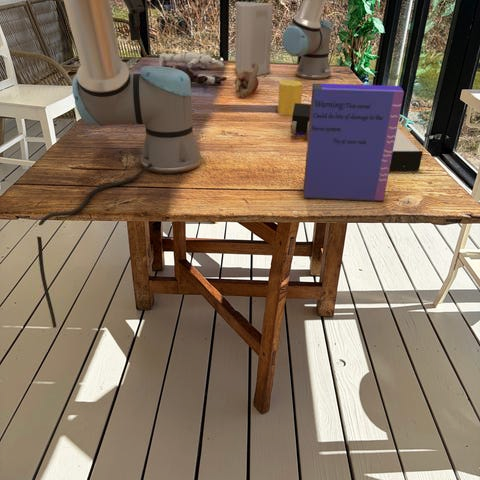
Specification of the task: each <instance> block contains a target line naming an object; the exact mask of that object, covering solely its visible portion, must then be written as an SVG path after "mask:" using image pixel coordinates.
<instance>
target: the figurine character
mask: <svg viewBox="0 0 480 480" xmlns="http://www.w3.org/2000/svg"><path fill="white" fill-rule="evenodd" d="M310 109H311V103H301V104H300V103H295V105H294V110H293V115H291V116H292V117H291V124H290V133H291V134H294V139H296V140H297V139H298V136H303V137H304V138H303V139H304V140H306V139H307V140H308V131H309V120H310Z"/></svg>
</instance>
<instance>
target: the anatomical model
mask: <svg viewBox="0 0 480 480" xmlns="http://www.w3.org/2000/svg"><path fill="white" fill-rule="evenodd" d="M252 67H253V68H254V70H253V72H249V71H245V70H243V71H241V72H240V74H239V75H238V74H237V76H236V77H235V79H234V85H235V91H234V92H235V93H238V98H241V99H242V98H243V99H245V98H246V97H247V96H248V95H250V94H252V93H253V92H256V90H257V89H258V88H259V85H260V84H259V79H258V77H257V76H258V75H257V73H258V70H259V67H258V65H257V64H256V63H253V64H252ZM256 75H257V76H256Z"/></svg>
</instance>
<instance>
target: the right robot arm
mask: <svg viewBox="0 0 480 480" xmlns="http://www.w3.org/2000/svg"><path fill="white" fill-rule="evenodd" d="M326 2H327V0H302V2H301V6H300V8H299V11H298V13H297V14H295V15H294V16H293V17H292V20H291V23H290V26H288V27H287V28H286V29H285V30H284V31H283V33H282V37H281V43H282V46H283V49H284V51H285V53H287V54H288V55H289V56H292V57H295V58H296V57H300V61H299V62H298V65H297V68H296V71H295V76H296V77H297V78H300V79H307V80H327V79H329V78H331V73H332V72H331V65H330V61H329V55H330V54H329V53H330V46H331V45H330V43H331V37H332V36H331V35H332V22H331V21H330V20H325V19H321V17H322V14H323V11H324V8H325V5H326Z"/></svg>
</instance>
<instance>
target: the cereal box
mask: <svg viewBox="0 0 480 480" xmlns="http://www.w3.org/2000/svg"><path fill="white" fill-rule="evenodd" d="M404 94H405V91H404V90H403V88H402V87H401V86H399V85H380V84H379V85H377V84H376V85H375V84H344V83H343V84H341V83H312V87H311V99H310V104H311V109H310V120H309V131H308V134H307V145H306V153H305V154H306V155H305V165H304V177H303V188H302V189H303V190H302V191H303V197H304V199H317V200H343V201H344V200H345V201H346V200H347V201H366V202H367V201H368V202H369V201H370V202H384V201H385V195H386V190H387V184H388V178H389V174H390V171H389V169H390V164H391V158H392V153H393V148H394V142H395V137H396V132H397V128H399V127H398V126H399V120H400V115H401V111H402V104H403V100H404V99H403V98H404Z"/></svg>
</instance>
